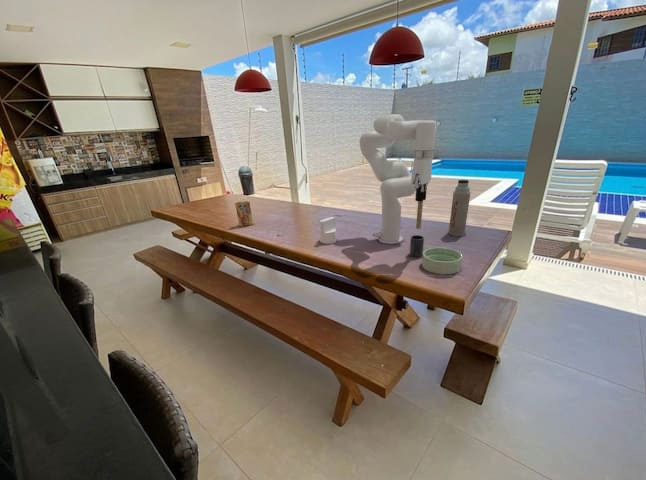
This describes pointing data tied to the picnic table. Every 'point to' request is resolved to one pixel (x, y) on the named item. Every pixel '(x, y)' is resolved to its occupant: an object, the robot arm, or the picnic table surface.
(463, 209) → the thermos bottle
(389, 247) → the picnic table surface
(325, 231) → the cylinder with rectangular tab
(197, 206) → the picnic table surface
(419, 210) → the stick
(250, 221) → the candy box
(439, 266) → the bowl
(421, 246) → the holder
